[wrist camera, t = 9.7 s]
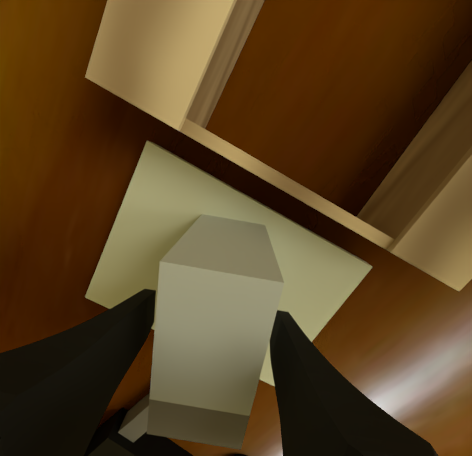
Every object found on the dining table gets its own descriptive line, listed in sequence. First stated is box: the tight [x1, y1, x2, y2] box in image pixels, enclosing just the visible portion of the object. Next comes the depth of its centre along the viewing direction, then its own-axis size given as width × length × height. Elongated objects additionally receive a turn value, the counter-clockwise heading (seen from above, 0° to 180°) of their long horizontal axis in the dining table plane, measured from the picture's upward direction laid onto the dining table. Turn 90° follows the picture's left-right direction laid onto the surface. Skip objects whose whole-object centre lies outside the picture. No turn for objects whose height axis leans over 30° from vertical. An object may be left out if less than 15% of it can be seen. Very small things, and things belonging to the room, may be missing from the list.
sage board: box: [85, 141, 372, 386], centre depth 15 cm, size 16×12×1 cm
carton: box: [85, 0, 472, 291], centre depth 10 cm, size 19×16×4 cm
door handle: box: [84, 393, 246, 456], centre depth 20 cm, size 3×20×16 cm
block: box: [147, 214, 284, 450], centre depth 11 cm, size 4×8×7 cm, turn 170°
